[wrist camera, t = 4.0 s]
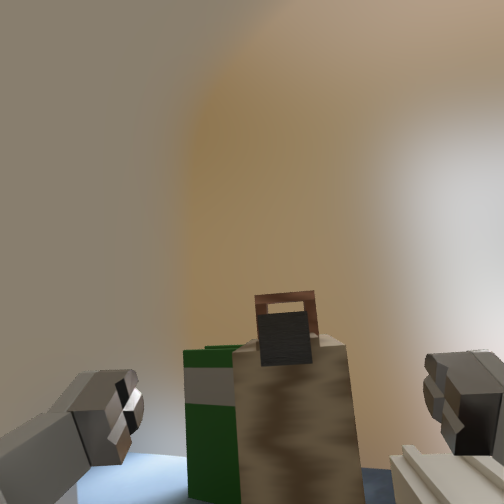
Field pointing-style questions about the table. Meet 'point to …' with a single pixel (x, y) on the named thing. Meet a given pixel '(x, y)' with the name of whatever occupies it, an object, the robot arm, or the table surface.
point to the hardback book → (211, 425)
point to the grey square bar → (284, 339)
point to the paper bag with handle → (296, 421)
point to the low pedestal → (446, 478)
